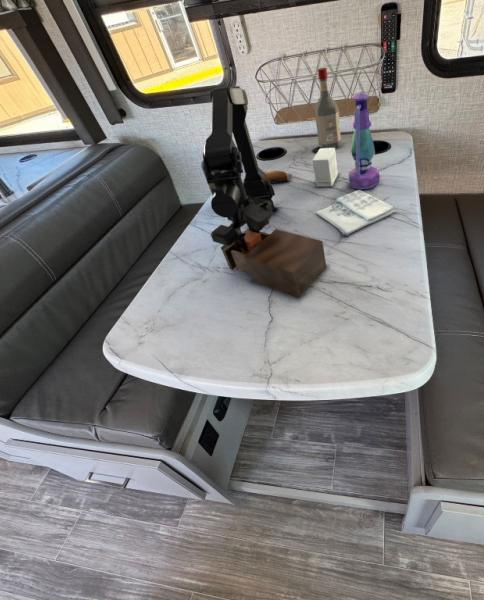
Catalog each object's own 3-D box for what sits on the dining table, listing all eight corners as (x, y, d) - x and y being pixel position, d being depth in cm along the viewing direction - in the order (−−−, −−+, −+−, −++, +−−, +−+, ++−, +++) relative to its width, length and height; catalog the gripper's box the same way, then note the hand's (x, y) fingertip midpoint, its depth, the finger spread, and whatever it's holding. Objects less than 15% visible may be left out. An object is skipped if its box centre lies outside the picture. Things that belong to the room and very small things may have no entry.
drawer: (219, 265, 99) (210, 246, 94) (246, 242, 106) (240, 223, 101) (268, 282, 90) (262, 263, 85) (294, 256, 97) (290, 236, 92)
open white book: (395, 213, 108) (396, 207, 106) (344, 237, 102) (344, 231, 100) (360, 192, 120) (360, 187, 119) (312, 213, 114) (311, 208, 113)
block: (242, 252, 95) (237, 238, 92) (252, 243, 97) (247, 230, 94) (254, 255, 93) (249, 242, 90) (264, 246, 95) (260, 233, 92)
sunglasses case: (288, 172, 139) (285, 161, 132) (290, 187, 137) (287, 177, 131) (246, 178, 140) (241, 168, 134) (247, 193, 138) (242, 183, 132)
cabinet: (253, 281, 93) (244, 256, 87) (282, 253, 101) (275, 228, 94) (299, 298, 86) (292, 272, 80) (326, 266, 94) (322, 240, 87)
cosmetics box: (322, 174, 135) (319, 147, 127) (338, 174, 133) (335, 147, 126) (315, 186, 128) (311, 159, 121) (331, 187, 126) (328, 159, 119)
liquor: (342, 147, 151) (336, 68, 130) (323, 152, 150) (314, 73, 129) (336, 140, 157) (329, 64, 136) (318, 145, 156) (308, 69, 135)
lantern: (354, 174, 131) (349, 86, 110) (383, 176, 127) (384, 85, 106) (343, 191, 123) (336, 99, 102) (374, 193, 119) (373, 98, 98)
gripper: (233, 221, 75) (252, 274, 86) (282, 183, 85) (293, 234, 96) (199, 212, 80) (221, 263, 91) (249, 177, 90) (263, 226, 101)
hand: (251, 246), depth 94 cm, fingers closed on block, 4 cm apart
